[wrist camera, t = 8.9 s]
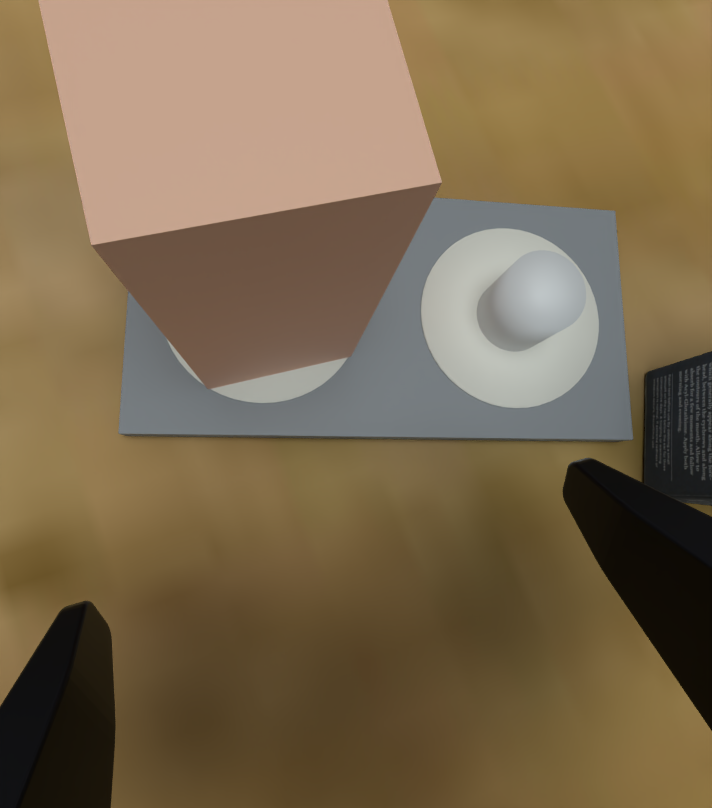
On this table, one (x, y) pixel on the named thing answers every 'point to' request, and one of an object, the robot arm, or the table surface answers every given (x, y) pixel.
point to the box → (680, 430)
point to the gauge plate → (435, 345)
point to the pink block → (245, 168)
